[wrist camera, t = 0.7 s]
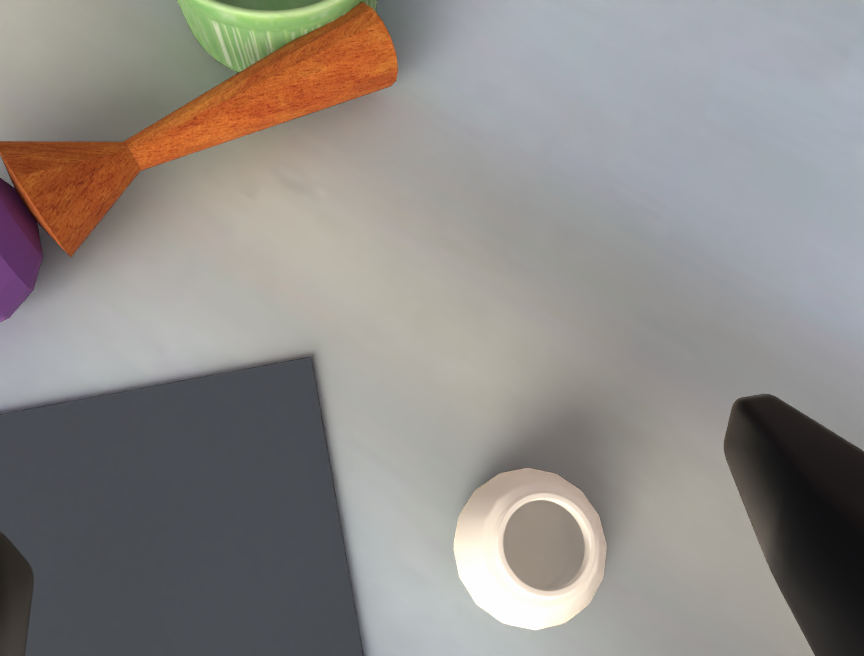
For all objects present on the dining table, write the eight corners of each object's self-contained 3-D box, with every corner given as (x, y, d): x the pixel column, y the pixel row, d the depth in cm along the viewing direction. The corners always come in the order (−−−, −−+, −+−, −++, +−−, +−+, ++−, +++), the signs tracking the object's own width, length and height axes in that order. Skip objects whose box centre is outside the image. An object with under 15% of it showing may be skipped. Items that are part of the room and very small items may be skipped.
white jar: (624, 525, 24) (502, 444, 25) (656, 520, 22) (519, 428, 22) (552, 659, 23) (424, 568, 23) (577, 670, 20) (432, 568, 20)
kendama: (434, 68, 25) (-167, 363, 19) (397, 140, 31) (-74, 385, 24) (344, -72, 25) (-288, 173, 19) (323, 26, 31) (-167, 240, 24)
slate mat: (401, 872, 20) (401, 874, 20) (-39, 1004, 19) (-42, 1006, 19) (311, 357, 25) (310, 356, 25) (-45, 423, 24) (-47, 423, 23)
